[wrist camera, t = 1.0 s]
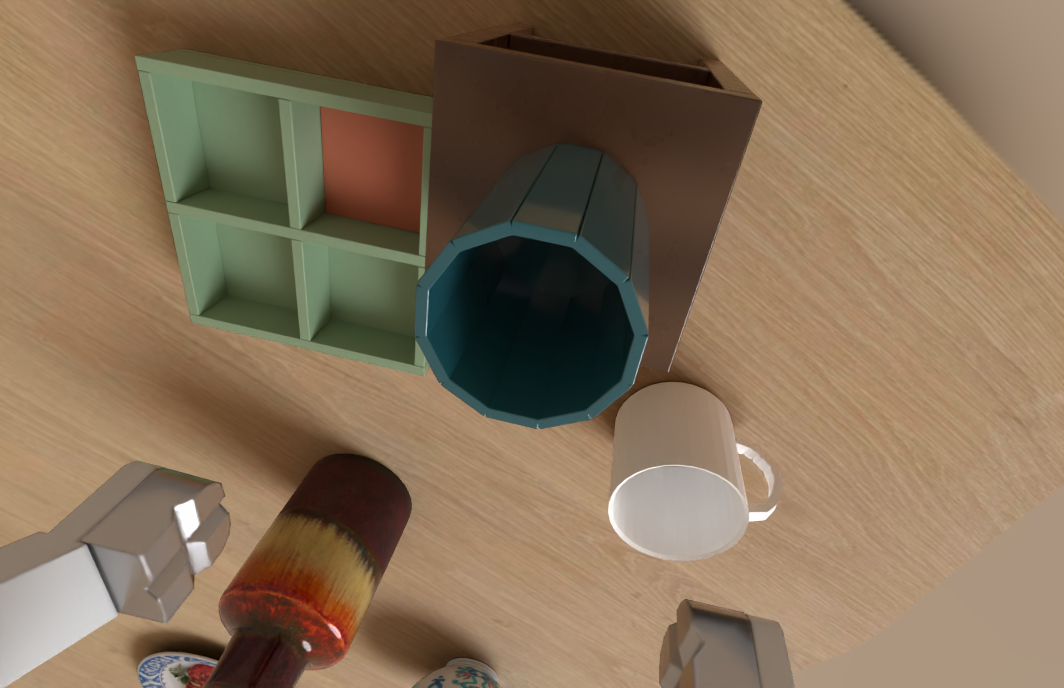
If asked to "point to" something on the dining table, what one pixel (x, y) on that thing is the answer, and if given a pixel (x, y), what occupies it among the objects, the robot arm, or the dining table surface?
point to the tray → (294, 202)
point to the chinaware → (460, 676)
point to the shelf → (594, 143)
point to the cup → (542, 292)
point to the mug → (682, 474)
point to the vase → (311, 575)
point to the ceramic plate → (175, 670)
